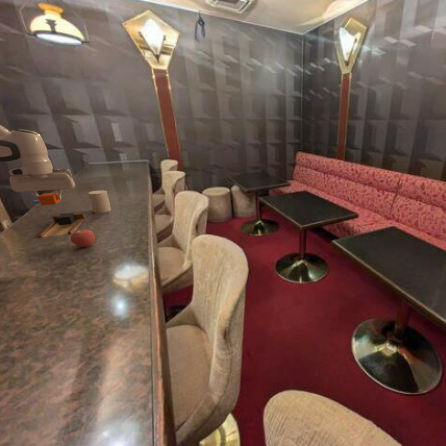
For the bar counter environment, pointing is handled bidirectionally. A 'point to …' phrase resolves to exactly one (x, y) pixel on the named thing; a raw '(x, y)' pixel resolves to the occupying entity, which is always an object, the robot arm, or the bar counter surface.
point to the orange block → (48, 199)
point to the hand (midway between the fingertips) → (49, 199)
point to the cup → (100, 201)
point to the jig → (62, 227)
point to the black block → (65, 219)
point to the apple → (83, 238)
